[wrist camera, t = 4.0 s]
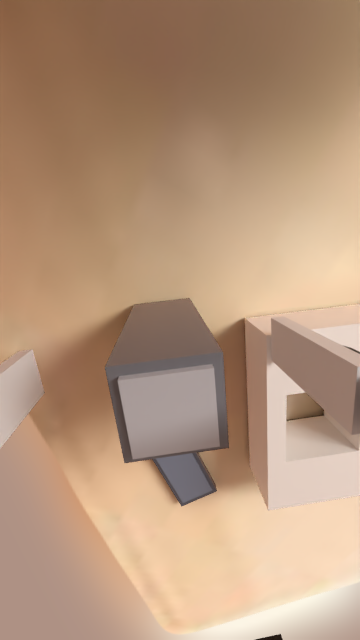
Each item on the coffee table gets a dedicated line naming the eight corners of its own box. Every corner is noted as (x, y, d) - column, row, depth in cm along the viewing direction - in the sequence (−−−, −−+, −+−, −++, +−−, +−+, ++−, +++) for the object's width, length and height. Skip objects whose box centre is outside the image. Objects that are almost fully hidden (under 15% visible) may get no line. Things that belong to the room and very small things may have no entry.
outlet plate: (244, 318, 19) (267, 336, 15) (396, 299, 19) (458, 312, 15) (249, 466, 23) (269, 513, 19) (376, 447, 23) (422, 488, 19)
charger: (134, 304, 18) (102, 371, 8) (189, 298, 18) (224, 355, 8) (142, 355, 19) (123, 469, 9) (194, 349, 19) (230, 453, 9)
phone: (147, 441, 22) (146, 451, 21) (184, 425, 22) (185, 434, 21) (180, 496, 24) (181, 507, 23) (214, 481, 24) (217, 492, 23)
